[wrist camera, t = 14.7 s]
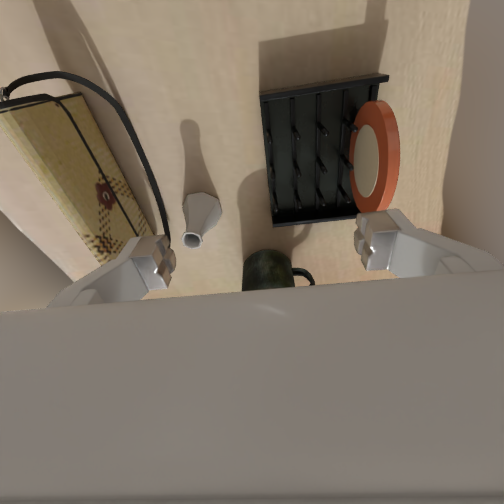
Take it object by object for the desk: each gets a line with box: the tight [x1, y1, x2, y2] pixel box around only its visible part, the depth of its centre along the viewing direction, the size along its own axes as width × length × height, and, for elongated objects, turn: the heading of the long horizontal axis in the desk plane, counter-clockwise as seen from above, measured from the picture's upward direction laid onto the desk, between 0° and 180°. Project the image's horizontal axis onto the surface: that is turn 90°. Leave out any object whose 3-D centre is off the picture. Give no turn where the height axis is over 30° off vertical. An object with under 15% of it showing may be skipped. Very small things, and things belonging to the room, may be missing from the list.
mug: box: [242, 250, 315, 291], centre depth 51 cm, size 11×15×12 cm
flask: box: [181, 192, 222, 249], centre depth 44 cm, size 7×7×10 cm
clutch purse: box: [0, 71, 171, 266], centre depth 38 cm, size 30×7×15 cm, turn 11°
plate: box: [349, 100, 400, 213], centre depth 34 cm, size 14×1×14 cm, turn 8°
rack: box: [259, 73, 389, 227], centre depth 39 cm, size 20×16×7 cm
